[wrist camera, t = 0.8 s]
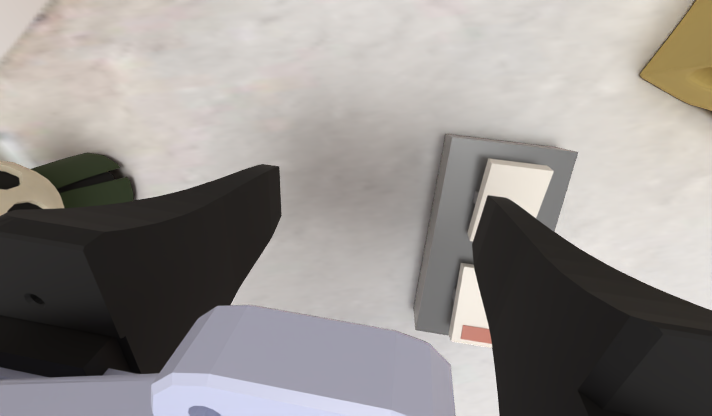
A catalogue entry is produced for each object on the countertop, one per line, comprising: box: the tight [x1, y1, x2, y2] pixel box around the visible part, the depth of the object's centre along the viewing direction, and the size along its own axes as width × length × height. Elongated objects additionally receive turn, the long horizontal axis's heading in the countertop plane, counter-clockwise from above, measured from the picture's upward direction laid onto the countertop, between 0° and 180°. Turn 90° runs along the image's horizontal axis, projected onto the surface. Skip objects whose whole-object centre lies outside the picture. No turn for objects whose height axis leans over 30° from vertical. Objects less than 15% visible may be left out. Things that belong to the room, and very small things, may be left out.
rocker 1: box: [449, 263, 492, 348], centre depth 24 cm, size 6×4×1 cm, turn 174°
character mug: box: [0, 153, 134, 216], centre depth 23 cm, size 11×7×13 cm, turn 31°
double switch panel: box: [413, 134, 578, 335], centre depth 25 cm, size 15×8×4 cm, turn 174°
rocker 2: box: [467, 158, 554, 241], centre depth 22 cm, size 6×4×1 cm, turn 173°
